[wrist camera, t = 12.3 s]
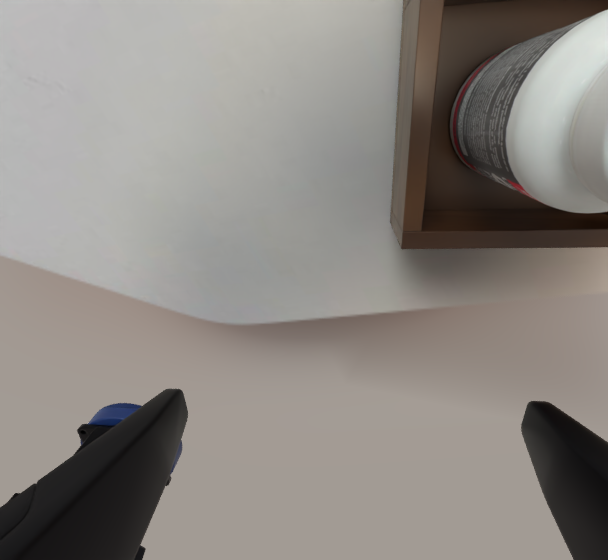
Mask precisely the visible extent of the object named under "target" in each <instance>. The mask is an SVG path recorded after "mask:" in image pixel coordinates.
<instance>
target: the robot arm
mask: <svg viewBox="0 0 608 560" xmlns="http://www.w3.org/2000/svg"><path fill="white" fill-rule="evenodd" d="M187 418H188V411H187V406H186V402H185V398H184V394H183V392H182V390H180V389H166V390H164V391H163V392H161V393H160V394H158V395H157V396H156V397H155V398H153V399H151V400H150V401H149V402H147V403H146V404H145V405H143V406H142V407H140V408H139V409H138V410H136V411H135V412H133V413H132V414H131V415H129V416H128V417H126V418H125V419H124V420H122V421H121V422H119V423H118V424H117V425H96V424H82V425H81V426H80V427H79V429H78V430H77V431H78V434H79V436H80V439H81V441H82V443H83V444H82V445H81V446H80V448H79V449H78V450H77V452H76V453H75V454H74V455H73V456H72V457H71V458H69V459H68V460H66V461H65V462H64V463H62V464H61V465H60V466H58V467H57V468H55V469H54V470H53V471H51V472H50V473H48V474H47V475H46V476H44V477H43V478H41V479H40V480H39V481H38V482H37V484H33V485H31V486H30V487H29V488H27V489H26V490H25V491H23V492H22V493H19V494H18V493H15V494H14V495H13V497H12V498H11V499H10V500H9V501H8V502H7V503H6V504H5V505H3V506H2V507H0V560H142V558H143V555H144V552H145V548H144V547H142V546H141V545H140V544H141V542H142V539H143V537H144V535H145V533H146V530H147V528H148V525H149V523H150V520H151V518H152V516H153V514H154V511H155V509H156V507H157V504H158V502H159V500H160V497H161V495H162V493H163V490H164V488H165V486H167V485H169V483H170V481H171V477H170V473H171V470H172V467H173V464H174V461H175V457H176V454H177V451H178V448H179V445H180V441H181V438H182V435H183V432H184V428H185V425H186V422H187ZM521 429H522V430H521V431H522V435H523V438H524V441H525V443H526V446H527V449H528V452H529V455H530V458H531V461H532V463H533V466H534V469H535V472H536V475H537V478H538V481H539V483H540V486H541V489H542V492H543V494H544V497H545V499H546V501H547V504H548V506H549V508H550V510H551V512H552V515H553V517H554V519H555V521H556V523H557V525H558V527H559V529H560V532H561V534H562V536H563V538H564V540H565V542H566V544H567V546H568V548H569V551H570V553H571V555H572V557H573V559H574V560H608V442H607V441H605V440H603V439H602V438H601V437H599V436H598V435H596V434H595V433H593V432H592V431H590V430H589V429H587V428H586V427H585V426H583V425H582V424H580V423H579V422H577V421H575V420H574V419H573V418H571V417H570V416H568V415H567V414H565V413H564V412H563V411H561V410H560V409H558V408H557V407H555V406H554V405H552V404H551V403H549V402H545V401H531V402H529V403H528V405H527V408H526V411H525V415H524V418H523V421H522V426H521Z"/></svg>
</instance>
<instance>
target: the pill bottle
mask: <svg viewBox="0 0 608 560" xmlns="http://www.w3.org/2000/svg"><path fill="white" fill-rule="evenodd" d="M450 135H451V140H452V144H453V147H454V149H455V151H456V153H457V155H458V156H459V158H460V159H461V161H462V162H463V163H464V164H466V165H467V166H468V167H469V168H470V169H472V170H474V171H475V172H477V173H479V174H481V175H483V176H485V177H487V178H490V179H492V180H494V181H496V182H497V183H500V184H503V185H505V186H507V187H509V188H511V189H513V190H516V191H519V192H520V193H522V194H524V195H527V196H529V197H531V198H533V199H535V200H537V201H539V202H541V203H543V204H545V205H548V206H551V207H554V208H557V209H560V210H564V211H568V212H575V213H601V212H608V10H605V11H602V12H599V13H597V14H594V15H592V16H590V17H588V18H585V19H582V20H580V21H578V22H576V23H573V24H570V25H567V26H565V27H563V28H560V29H557V30H553V31H550V32H547V33H545V34H542V35H540V36H536V37H533V38H531V39H529V40H526V41H524V42H522V43H519V44H516V45H513V46H511V47H509V48H506V49H504V50H502V51H500V52H498V53H496V54H494V55H493V56H491V57H490V58H488V59H487V60H485V61H484V62H483V63H482V64H481V65H480V66H478V67H477V68H476V69H475V70H474V71H473V72H472V73H471V75H470V76H469V77H468V78H467V80H466V81H465V83H464V84H463V85H462V87H461V89H460V90H459V92H458V95H457V97H456V99H455V102H454V104H453V107H452V111H451V117H450Z"/></svg>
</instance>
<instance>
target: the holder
mask: <svg viewBox="0 0 608 560" xmlns="http://www.w3.org/2000/svg"><path fill="white" fill-rule="evenodd" d="M605 10H608V0H403V17H402V33H401V50H400V67H399V84H398V100H397V117H396V134H395V151H394V167H393V184H392V201H391V218H390V223H391V225H392V228H393V230H394V232H395V235H396V237H397V239H398V242H399V244H400V246H401V249H461V248H578V247H608V212H601V213H575V212H568V211H564V210H560V209H557V208H554V207H551V206H548V205H545V204H543V203H541V202H539V201H537V200H535V199H533V198H531V197H529V196H527V195H524V194H522V193H520V192H519V191H516V190H513V189H511V188H509V187H507V186H505V185H503V184H500V183H497V182H496V181H494V180H492V179H490V178H487V177H485V176H483V175H481V174H479V173H477V172H475V171H474V170H472V169H470V168H469V167H468V166H467V165H466V164H464V163H463V162H462V161H461V159H460V158H459V156H458V155H457V153H456V151H455V149H454V147H453V144H452V140H451V135H450V117H451V111H452V107H453V104H454V102H455V99H456V97H457V95H458V92H459V90H460V89H461V87H462V85H463V84H464V83H465V81H466V80H467V78H468V77H469V76H470V75H471V73H472V72H473V71H474V70H475V69H476V68H477V67H478V66H480V65H481V64H482V63H483V62H484V61H485V60H487V59H488V58H490V57H491V56H493V55H494V54H496V53H498V52H500V51H502V50H504V49H506V48H509V47H511V46H513V45H516V44H519V43H522V42H524V41H526V40H529V39H531V38H533V37H536V36H540V35H542V34H545V33H547V32H550V31H553V30H557V29H560V28H563V27H565V26H567V25H570V24H573V23H576V22H578V21H580V20H582V19H585V18H588V17H590V16H592V15H594V14H597V13H599V12H602V11H605Z"/></svg>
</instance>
